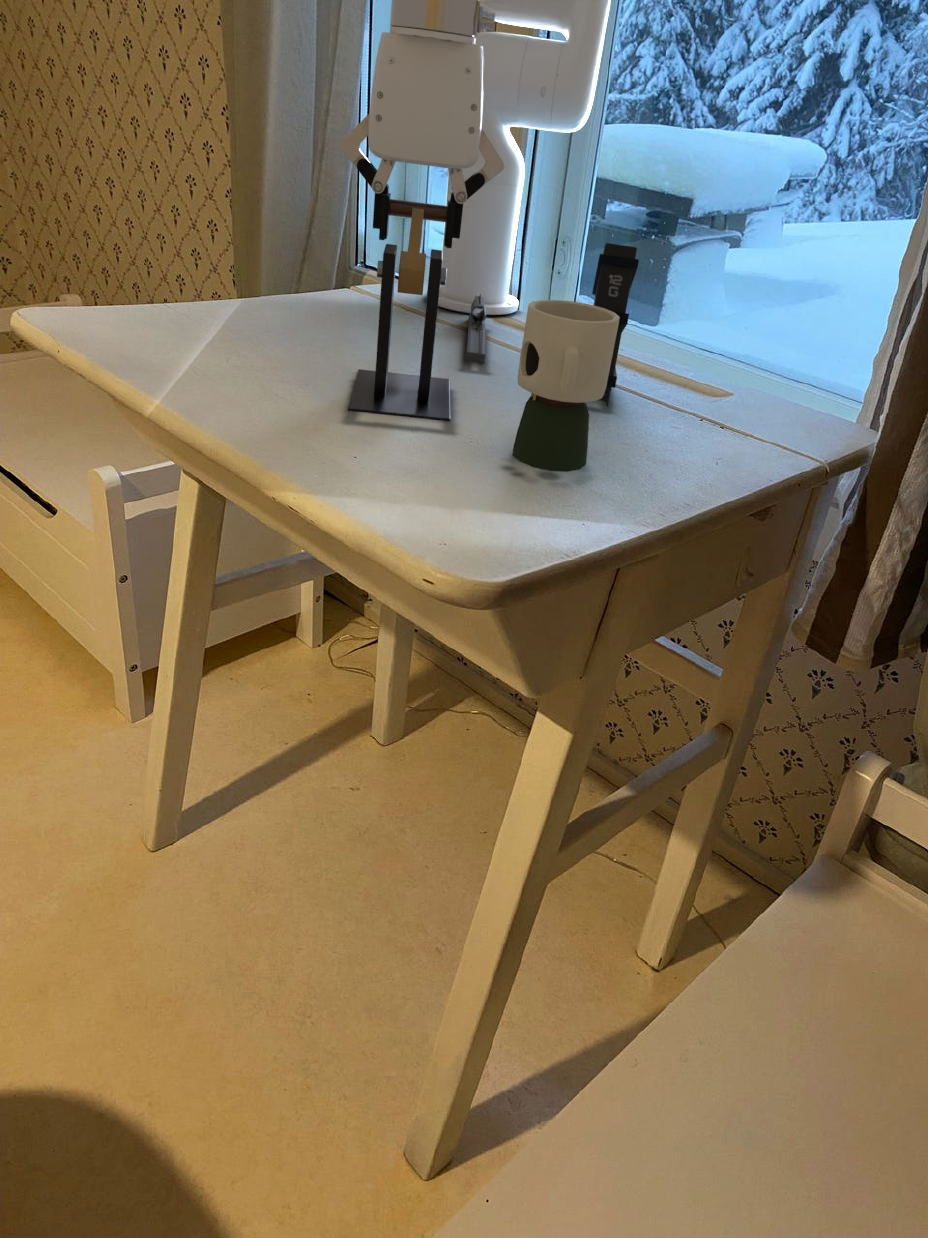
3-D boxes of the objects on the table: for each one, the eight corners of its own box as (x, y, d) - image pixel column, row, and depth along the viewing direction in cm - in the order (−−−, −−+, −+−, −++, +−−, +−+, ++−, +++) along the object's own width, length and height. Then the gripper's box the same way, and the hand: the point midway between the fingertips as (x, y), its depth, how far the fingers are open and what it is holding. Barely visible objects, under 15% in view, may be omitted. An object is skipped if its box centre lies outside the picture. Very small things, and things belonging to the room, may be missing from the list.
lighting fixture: (488, 376, 100) (493, 336, 98) (464, 373, 100) (468, 333, 97) (488, 331, 116) (492, 296, 114) (467, 328, 116) (471, 293, 113)
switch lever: (389, 215, 89) (390, 190, 88) (446, 222, 90) (448, 197, 88) (378, 290, 81) (379, 265, 79) (441, 297, 81) (443, 272, 80)
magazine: (574, 399, 90) (602, 241, 88) (570, 418, 103) (594, 280, 101) (613, 405, 89) (641, 246, 88) (603, 423, 102) (628, 285, 101)
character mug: (505, 441, 82) (527, 289, 76) (584, 451, 83) (613, 300, 76) (504, 488, 73) (528, 320, 66) (593, 500, 73) (627, 333, 67)
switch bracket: (357, 381, 92) (366, 233, 85) (448, 391, 93) (464, 245, 86) (347, 422, 82) (355, 257, 75) (448, 433, 83) (466, 270, 76)
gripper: (528, 34, 84) (501, 246, 93) (338, 8, 83) (330, 225, 92) (536, 32, 78) (506, 259, 87) (330, 3, 76) (321, 237, 86)
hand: (415, 239), depth 89 cm, fingers closed on switch lever, 5 cm apart
